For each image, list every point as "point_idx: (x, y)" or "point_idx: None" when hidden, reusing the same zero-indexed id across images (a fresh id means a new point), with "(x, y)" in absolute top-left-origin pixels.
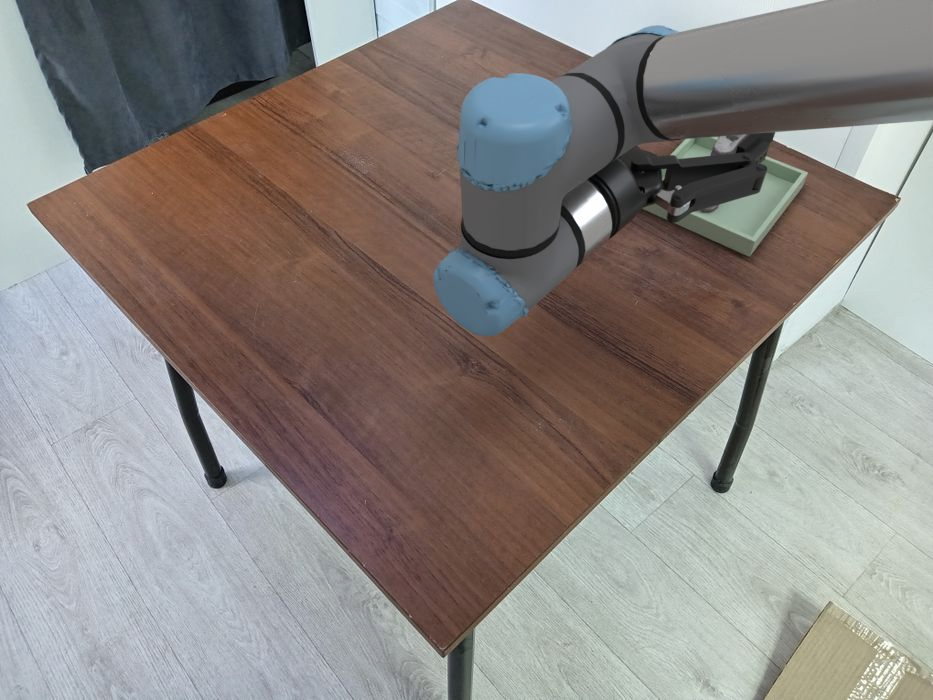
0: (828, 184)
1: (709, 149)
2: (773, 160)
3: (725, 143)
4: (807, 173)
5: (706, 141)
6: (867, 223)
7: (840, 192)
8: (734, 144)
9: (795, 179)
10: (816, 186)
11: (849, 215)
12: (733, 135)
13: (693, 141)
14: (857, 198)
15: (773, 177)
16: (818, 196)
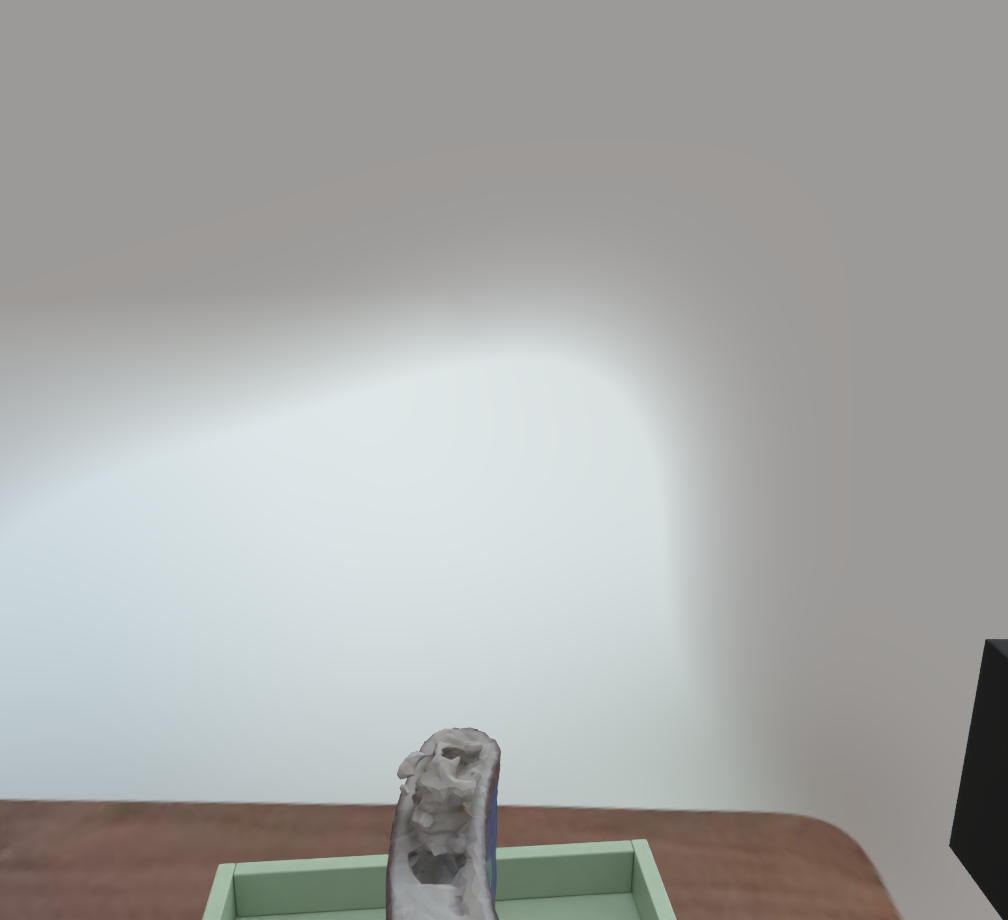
0: (683, 841)
1: (298, 912)
2: (529, 851)
3: (438, 914)
4: (647, 843)
5: (277, 891)
6: (888, 910)
7: (730, 849)
8: (479, 898)
9: (621, 878)
10: (666, 864)
11: (828, 912)
12: (439, 853)
13: (231, 914)
14: (779, 843)
15: (553, 905)
16: (703, 895)
